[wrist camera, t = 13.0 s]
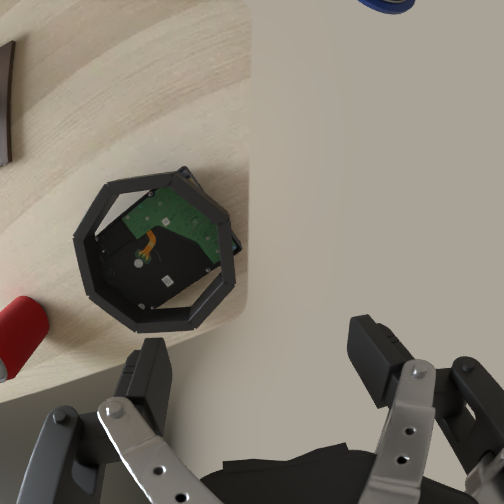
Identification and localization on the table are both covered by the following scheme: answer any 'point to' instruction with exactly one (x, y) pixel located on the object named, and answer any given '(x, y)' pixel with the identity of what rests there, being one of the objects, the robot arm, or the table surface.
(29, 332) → the beverage can
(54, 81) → the table surface
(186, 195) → the ring
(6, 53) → the stand
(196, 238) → the disk drive
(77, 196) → the table surface
